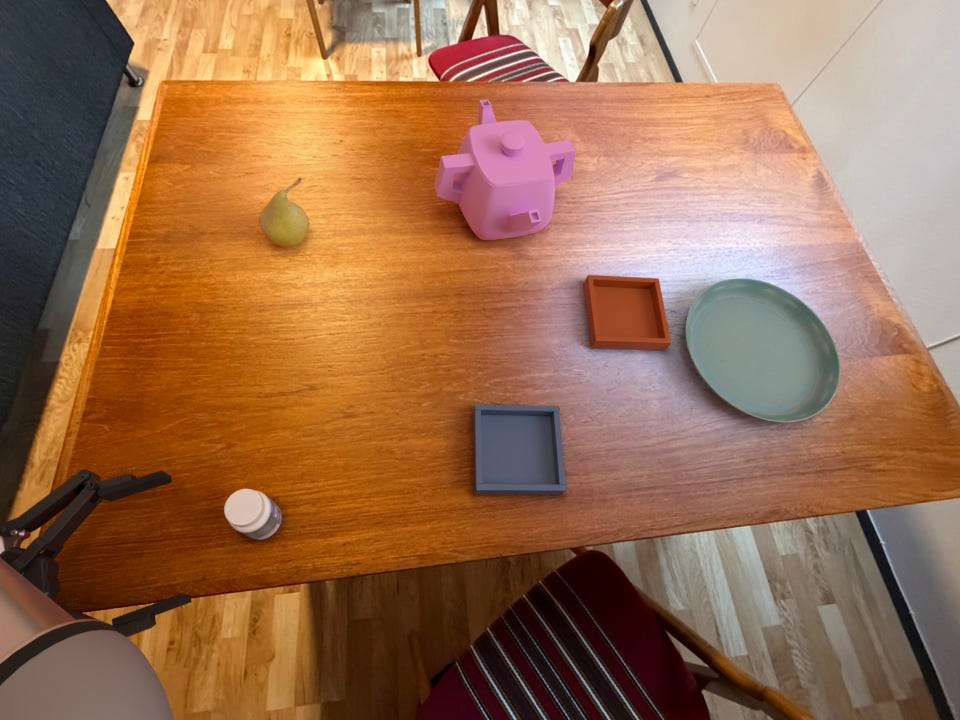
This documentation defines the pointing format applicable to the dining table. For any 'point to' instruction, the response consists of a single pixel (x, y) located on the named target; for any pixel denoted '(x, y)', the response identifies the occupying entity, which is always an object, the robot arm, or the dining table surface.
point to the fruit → (284, 220)
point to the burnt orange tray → (626, 313)
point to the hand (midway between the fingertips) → (176, 534)
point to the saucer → (762, 350)
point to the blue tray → (518, 450)
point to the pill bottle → (252, 513)
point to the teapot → (504, 176)
